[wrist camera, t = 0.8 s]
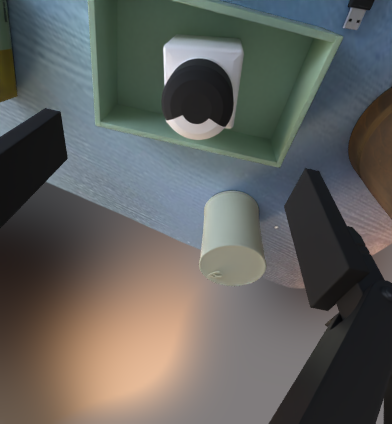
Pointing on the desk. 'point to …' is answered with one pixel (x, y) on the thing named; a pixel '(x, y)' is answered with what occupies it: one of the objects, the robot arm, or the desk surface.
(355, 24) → the usb flash drive
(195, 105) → the medicine bottle
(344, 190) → the desk surface
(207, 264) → the can
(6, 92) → the medication box
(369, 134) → the wooden container
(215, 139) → the bin
